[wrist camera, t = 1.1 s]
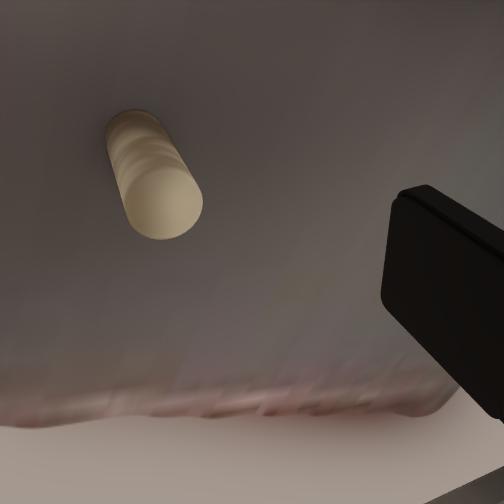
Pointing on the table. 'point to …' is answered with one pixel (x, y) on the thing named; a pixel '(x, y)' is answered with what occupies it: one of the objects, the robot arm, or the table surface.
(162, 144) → the dowel
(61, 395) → the table surface
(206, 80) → the table surface
